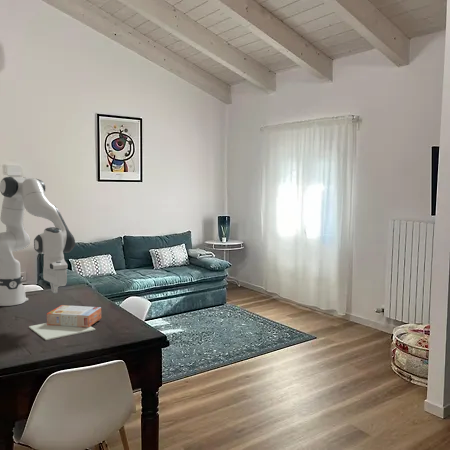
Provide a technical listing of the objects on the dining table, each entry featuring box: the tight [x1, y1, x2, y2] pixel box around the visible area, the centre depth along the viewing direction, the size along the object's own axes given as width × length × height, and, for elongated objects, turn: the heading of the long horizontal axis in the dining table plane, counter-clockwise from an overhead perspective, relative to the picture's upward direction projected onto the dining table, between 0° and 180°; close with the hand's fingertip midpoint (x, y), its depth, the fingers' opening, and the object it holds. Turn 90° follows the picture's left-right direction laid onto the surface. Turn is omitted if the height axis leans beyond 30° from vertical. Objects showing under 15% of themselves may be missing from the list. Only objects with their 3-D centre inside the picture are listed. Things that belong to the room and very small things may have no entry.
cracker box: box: [46, 304, 102, 327], centre depth 220 cm, size 14×6×21 cm
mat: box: [28, 322, 96, 341], centre depth 212 cm, size 22×22×1 cm
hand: (54, 292), depth 217 cm, fingers closed
